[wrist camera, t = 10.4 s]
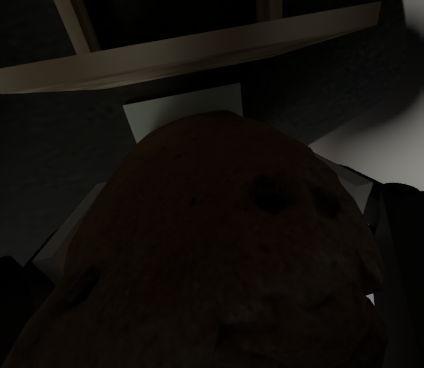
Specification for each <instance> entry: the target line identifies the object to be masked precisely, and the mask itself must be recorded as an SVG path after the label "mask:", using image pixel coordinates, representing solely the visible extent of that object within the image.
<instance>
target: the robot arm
mask: <svg viewBox="0 0 424 368" xmlns="http://www.w3.org/2000/svg"><path fill="white" fill-rule="evenodd" d="M313 153H314V152H313ZM314 154H315V156H316V157H317V158H319V159H320V160H322V161H323V162H325V163H326V164H327V165H328V166H329V167H330V168H331V169H332V170H333V171H335V172H336V173H337V175H338V178H339V180H340V183H341V184H342V186H343V187H344V188H345V189H346V190H347V191H348V192H349V193H350V195H351V196H352V197H353V198H354V199H355V201H356V203H357V205H358V207H359V209H360V210H361V212H362V214H363V216H364V218H365V220H366V221H367V223H368V224H369V227H370V229H371V232H372V234H373V237H374V240H375V242H376V245H377V247H378V249H379V251H380V253H381V255H382V257H383V264H384V272H385V283H384V287H383V290H381V291H378V292H375V293H373V294H374V305H375V309H376V312H377V316H378V317H380V318H381V319H382V320H383V321H384V322H385V323H386V327H387V333H388V339H389V342H388V344H387V346H386V350H385V355H384V361H383V367H382V368H424V191H419V190H418V189H417V188H415V187H413V186H410V185H406V184H401V183H385V184H382V183H380V182H378V181H376V180H374V179H372V178H370V177H368V176H366V175H364V174H362V173H360V172H357V171H355V170H354V169H351V168H349V167H347V166H343V165H339V164H336V163H333V162H332V161H330V160H328V159H325V158H324V157H322V156H320V155H318V154H316V153H314ZM106 183H107V182H104V183H100V184H96V186H95V187H94V188H93V189H92V190H91V191H90V193H89V194H88V195H87V196H86V197H85V199H84V200H83V201H82V202H81V203H80V205H79V206H78V207H77V208H76V209H75V210H74V212H73V213H72V214H71V215H70V216H69V218H68V219H67V220H66V221H65V222H64V224H63V225H62V226H61V227H60V228H59V229H57V230H56V231H55V232H54V233H52V234H51V235H50V237H49V238H48V239H47V240H46V242H45V243H43V245H42V246H41V247H40V249H38V250H37V252H36V253H35V254H34V255H33V256H32V257H31V259H30V260H29V261H28V262H27V263H26V264H25V266H24V267H22V266H21V265H20V264H19V263H18V262H17V261H16V260H15V259H13V258H12V257H11V256H4V257H0V368H1V366H2V364H3V362H4V361H5V359H6V357H7V355H8V354H9V352H10V350H11V348H12V347H13V345H14V343H15V341H16V340H17V338H18V336H19V334H20V333H21V331H22V329H23V327H24V326H25V324H26V323H27V322H28V321H29V319H30V318H31V317H32V316H33V315H34V313H35V312H36V311H37V310H38V309H39V308H40V306H41V305H42V304H43V303H44V302H45V301H46V299H47V298H48V297H49V295H50V294H51V292H52V291H53V290H54V288H55V287H56V286H57V284H58V283H59V281H60V280H61V278H62V277H63V275H64V270H63V269H64V264H65V259H66V255H67V250H68V246H69V243H70V242H71V240H72V238H73V236H74V235H75V233H76V231H77V230H78V228H79V226H80V224H81V223H82V220H83V219H84V217H85V216H86V214H87V213H88V211H89V210H90V207H91V206H92V204H93V203H94V201H95V200H96V198H97V197H98V195H99V193H100V191H101V190H102V189H103V187H104V186H105V184H106Z"/></svg>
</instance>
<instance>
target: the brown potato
mask: <svg viewBox="0 0 424 368" xmlns="http://www.w3.org/2000/svg"><path fill="white" fill-rule="evenodd" d="M63 270H64V275H63V277H62V278H61V280H60V281H59V283H58V284H57V286H56V287H55V288H54V290H53V291H52V292H51V294H50V295H49V297H48V298H47V299H46V301H45V302H44V303H43V304H42V305H41V306H40V308H39V309H38V310H37V311H36V312H35V313H34V315H33V316H32V317H31V318H30V319H29V321H28V322H27V323H26V324H25V326H24V327H23V329H22V331H21V333H20V334H19V336H18V338H17V340H16V341H15V343H14V345H13V347H12V348H11V350H10V352H9V354H8V355H7V357H6V359H5V361H4V362H3V364H2V366H1V368H382V367H383V361H384V355H385V350H386V346H387V344H388V342H389V339H388V333H387V327H386V323H385V322H384V321H383V320H382V319H381V318H380V317H378V316H377V312H376V309H375V306H374V305H373V303H372V302H371V300H370V299H369V298H367V297H366V295H369V294H372V293H375V292H378V291H381V290H383V287H384V283H385V272H384V264H383V257H382V255H381V253H380V251H379V249H378V247H377V245H376V242H375V240H374V237H373V234H372V232H371V229H370V227H369V225H368V223H367V221H366V220H365V218H364V216H363V214H362V212H361V210H360V209H359V207H358V205H357V203H356V201H355V199H354V198H353V197H352V196H351V195H350V193H349V192H348V191H347V190H346V189H345V188H344V187H343V186H342V184H341V183H340V180H339V178H338V175H337V173H336V172H335V171H333V170H332V169H331V168H330V167H329V166H328V165H327V164H326V163H325V162H323V161H322V160H320V159H319V158H317V157H316V156H315V154H314V153H313V151H312V149H311V148H309V147H308V146H306V145H305V144H303V143H301V142H300V141H298V140H296V139H294V138H292V137H288V136H286V135H285V134H284V133H282V132H281V131H279V130H278V129H276V128H274V127H272V126H269V125H267V124H265V123H262V122H259V121H256V120H254V119H250V118H245V117H241V116H240V115H238V114H237V113H234V112H232V111H229V110H217V111H210V112H204V113H199V114H195V115H191V116H187V117H184V118H181V119H178V120H175V121H172V122H170V123H168V124H166V125H163V126H161V127H159V128H157V129H155V130H154V131H152V132H150V133H149V134H147V135H146V136H145V137H144V138H143V139H142V140H140V141H139V142H138V143H137V144H136V145H135V147H134V148H133V149H132V150H131V151H130V152H129V153H128V155H127V156H126V157H125V158H124V160H123V161H122V163H121V164H120V166H119V167H118V169H117V170H116V171H115V173H114V174H113V175H112V177H111V178H110V179H109V180H108V182H107V183H106V184H105V186H104V187H103V189H102V190H101V191H100V193H99V195H98V197H97V198H96V200H95V201H94V203H93V204H92V206H91V207H90V210H89V211H88V213H87V214H86V216H85V217H84V219H83V220H82V223H81V224H80V226H79V228H78V230H77V231H76V233H75V235H74V236H73V238H72V240H71V242H70V243H69V246H68V250H67V255H66V259H65V264H64V269H63Z"/></svg>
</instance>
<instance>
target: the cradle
mask: <svg viewBox="0 0 424 368" xmlns="http://www.w3.org/2000/svg"><path fill="white" fill-rule="evenodd" d="M282 1H283V0H256V16H257V23H255V24H250V25H244V26H238V27H233V28H227V29H221V30H216V31H210V32H204V33H199V34H193V35H187V36H182V37H176V38H171V39H165V40H159V41H154V42H148V43H142V44H137V45H131V46H125V47H120V48H114V49H108V50H103V51H102V50H101V47H100V44H99V42H98V39H97V36H96V34H95V31H94V28H93V26H92V23H91V20H90V18H89V15H88V12H87V10H86V7H85V4H84V2H83V0H54V2H55V4H56V6H57V9H58V11H59V13H60V16H61V18H62V20H63V23H64V25H65V27H66V30H67V32H68V34H69V37H70V39H71V41H72V44H73V46H74V48H75V51H76V53H77V55H75V56H69V57H63V58H58V59H52V60H46V61H41V62H35V63H29V64H24V65H18V66H13V67H7V68H1V69H0V94H11V93H31V92H51V91H71V90H91V89H107V88H112V87H117V86H123V85H128V84H133V83H138V82H144V81H149V80H154V79H160V78H165V77H170V76H176V75H181V74H186V73H192V72H197V71H202V70H208V69H213V68H218V67H224V66H229V65H234V64H240V63H245V62H250V61H256V60H261V59H266V58H270V57H273V56H277V55H280V54H283V53H286V52H290V51H293V50H296V49H299V48H303V47H306V46H309V45H312V44H316V43H319V42H322V41H325V40H329V39H332V38H335V37H339V36H342V35H345V34H348V33H352V32H355V31H358V30H361V29H365V28H368V27H371V26H374V25H377V21H378V17H379V12H380V7H381V2H382V1H379V2H374V3H368V4H362V5H357V6H351V7H345V8H340V9H334V10H329V11H323V12H317V13H312V14H306V15H300V16H295V17H289V18H283V19H282Z"/></svg>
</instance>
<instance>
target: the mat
mask: <svg viewBox="0 0 424 368" xmlns="http://www.w3.org/2000/svg"><path fill="white" fill-rule="evenodd" d="M123 108H124V110H125V113H126V116H127V118H128V121H129V124H130V127H131V129H132V132H133V135H134V137H135V140H136V143H138V142H139V141H140V140H142V139H143V138H144V137H145V136H146V135H147V134H149V133H150V132H152V131H154V130H155V129H157V128H159V127H161V126H163V125H166V124H168V123H170V122H172V121H175V120H178V119H181V118H184V117H187V116H191V115H195V114H199V113H204V112H210V111H217V110H229V111H232V112H234V113H237V114H238V115H240V116H241V117H243V110H242V98H241V86H240V83H236V84H231V85H226V86H220V87H215V88H210V89H205V90H200V91H195V92H189V93H184V94H179V95H174V96H169V97H164V98H158V99H153V100H148V101H143V102H138V103H133V104H127V105H123Z"/></svg>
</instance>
